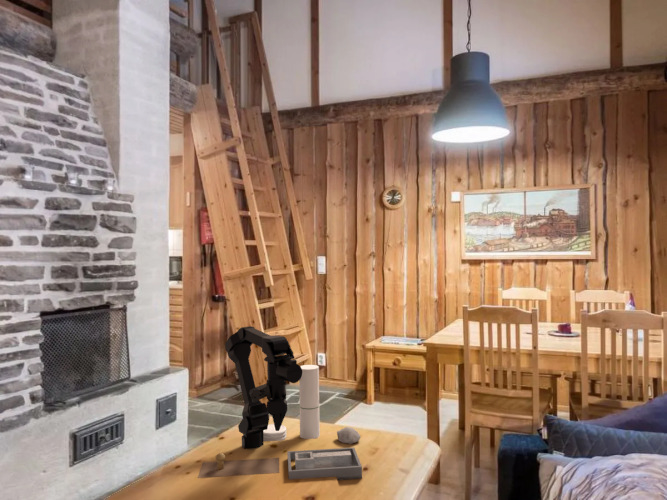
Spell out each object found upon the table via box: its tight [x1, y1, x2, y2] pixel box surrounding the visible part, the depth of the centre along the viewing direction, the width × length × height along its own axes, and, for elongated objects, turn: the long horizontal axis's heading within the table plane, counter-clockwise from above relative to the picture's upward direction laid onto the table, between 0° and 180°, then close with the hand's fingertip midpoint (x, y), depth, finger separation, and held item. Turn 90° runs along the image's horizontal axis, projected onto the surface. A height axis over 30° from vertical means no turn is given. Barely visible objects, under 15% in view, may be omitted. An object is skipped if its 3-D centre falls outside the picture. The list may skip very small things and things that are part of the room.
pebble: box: [336, 426, 361, 445], centre depth 182 cm, size 9×8×5 cm
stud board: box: [197, 452, 280, 479], centre depth 158 cm, size 24×11×6 cm, turn 97°
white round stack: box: [263, 423, 288, 442], centre depth 186 cm, size 10×10×4 cm
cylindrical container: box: [298, 364, 321, 440], centre depth 187 cm, size 7×7×25 cm
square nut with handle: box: [294, 451, 352, 470], centre depth 158 cm, size 17×5×4 cm, turn 97°
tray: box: [286, 447, 363, 481], centre depth 158 cm, size 22×15×4 cm
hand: (277, 425), depth 164 cm, fingers open, 9 cm apart
